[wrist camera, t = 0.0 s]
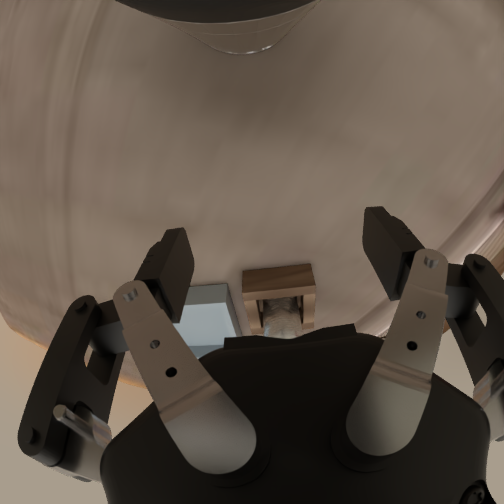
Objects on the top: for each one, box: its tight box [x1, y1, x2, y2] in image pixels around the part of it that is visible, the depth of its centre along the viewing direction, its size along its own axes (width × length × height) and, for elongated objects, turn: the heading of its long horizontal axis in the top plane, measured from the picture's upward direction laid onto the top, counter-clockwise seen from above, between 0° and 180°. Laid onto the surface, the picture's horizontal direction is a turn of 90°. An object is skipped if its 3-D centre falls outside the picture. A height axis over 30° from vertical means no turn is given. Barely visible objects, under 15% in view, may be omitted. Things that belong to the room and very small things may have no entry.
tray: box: [173, 284, 242, 359], centre depth 41 cm, size 15×13×4 cm
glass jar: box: [263, 296, 303, 339], centre depth 32 cm, size 5×5×14 cm
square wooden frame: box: [242, 264, 316, 334], centre depth 37 cm, size 9×9×4 cm
